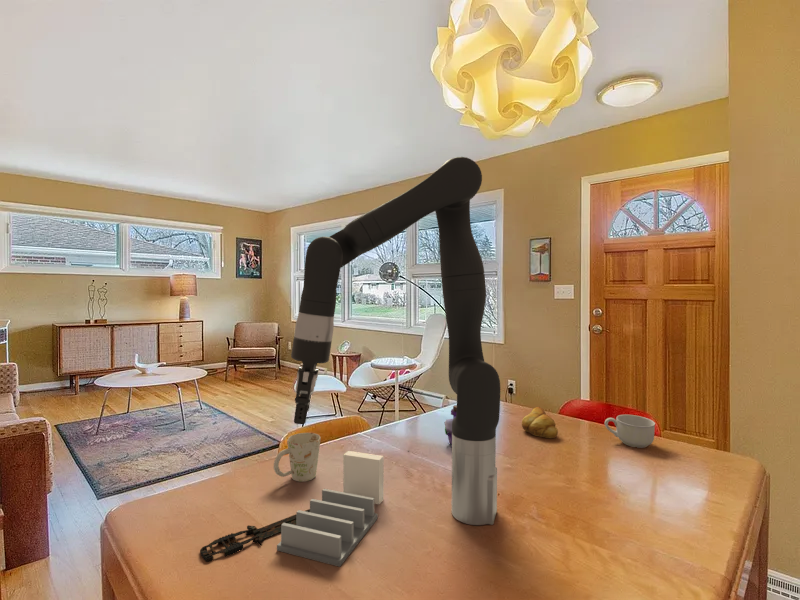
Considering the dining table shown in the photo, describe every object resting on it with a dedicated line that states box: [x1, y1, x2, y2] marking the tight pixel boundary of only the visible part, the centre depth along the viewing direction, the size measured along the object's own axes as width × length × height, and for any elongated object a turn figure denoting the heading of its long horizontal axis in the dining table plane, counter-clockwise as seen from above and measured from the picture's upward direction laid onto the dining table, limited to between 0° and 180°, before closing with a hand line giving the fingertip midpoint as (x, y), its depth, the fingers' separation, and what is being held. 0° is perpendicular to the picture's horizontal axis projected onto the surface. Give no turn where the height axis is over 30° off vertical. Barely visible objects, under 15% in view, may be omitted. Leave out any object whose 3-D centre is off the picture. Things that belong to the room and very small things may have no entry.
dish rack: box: [276, 488, 378, 568], centre depth 81 cm, size 16×13×4 cm
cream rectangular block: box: [342, 450, 385, 505], centre depth 95 cm, size 2×9×10 cm, turn 70°
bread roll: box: [521, 406, 559, 439], centre depth 139 cm, size 13×10×8 cm
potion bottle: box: [444, 404, 457, 446], centre depth 130 cm, size 9×9×12 cm
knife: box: [199, 508, 310, 563], centre depth 81 cm, size 25×6×1 cm, turn 126°
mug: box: [273, 432, 321, 483], centre depth 105 cm, size 8×13×10 cm, turn 137°
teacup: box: [604, 414, 656, 449], centre depth 131 cm, size 14×11×8 cm
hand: (301, 416), depth 83 cm, fingers open, 8 cm apart
